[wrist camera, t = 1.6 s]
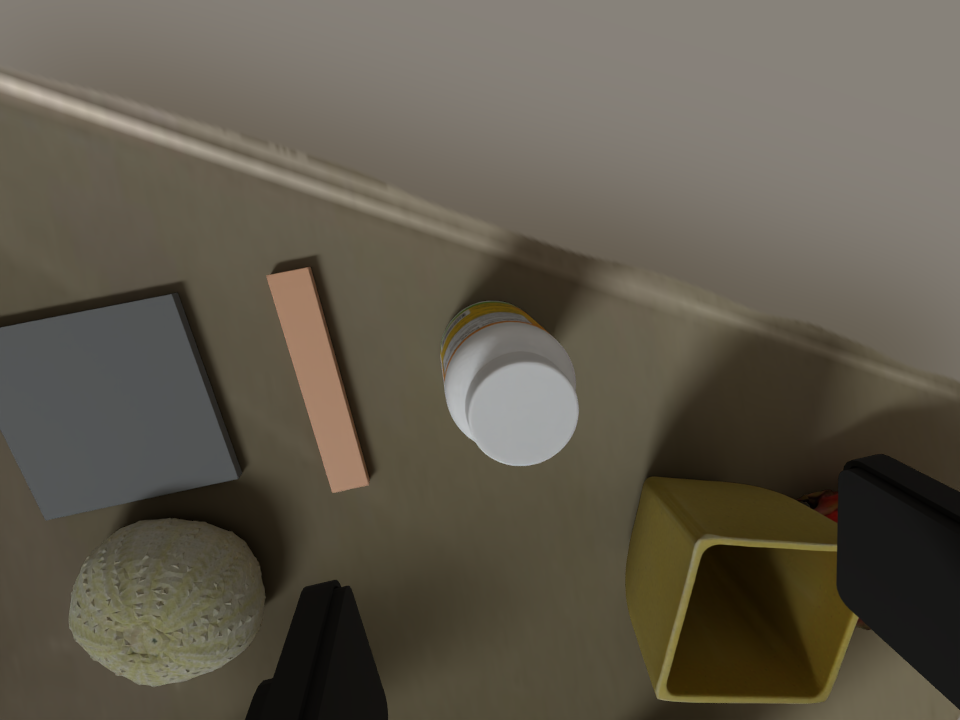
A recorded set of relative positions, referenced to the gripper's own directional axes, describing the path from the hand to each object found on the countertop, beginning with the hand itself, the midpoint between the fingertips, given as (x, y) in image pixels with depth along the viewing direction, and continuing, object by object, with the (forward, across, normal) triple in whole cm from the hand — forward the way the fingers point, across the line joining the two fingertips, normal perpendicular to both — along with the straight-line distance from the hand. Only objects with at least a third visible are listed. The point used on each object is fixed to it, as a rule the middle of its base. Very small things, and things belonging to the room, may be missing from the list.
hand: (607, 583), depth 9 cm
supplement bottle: (+18, 0, 0) cm, 19 cm away
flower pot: (+18, -9, +13) cm, 24 cm away
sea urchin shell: (+19, +19, +10) cm, 28 cm away
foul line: (+18, +9, 0) cm, 20 cm away
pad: (+18, +19, -1) cm, 27 cm away
